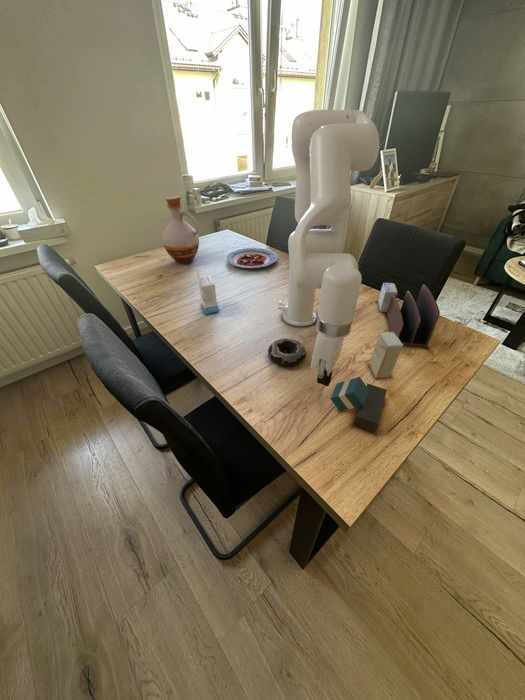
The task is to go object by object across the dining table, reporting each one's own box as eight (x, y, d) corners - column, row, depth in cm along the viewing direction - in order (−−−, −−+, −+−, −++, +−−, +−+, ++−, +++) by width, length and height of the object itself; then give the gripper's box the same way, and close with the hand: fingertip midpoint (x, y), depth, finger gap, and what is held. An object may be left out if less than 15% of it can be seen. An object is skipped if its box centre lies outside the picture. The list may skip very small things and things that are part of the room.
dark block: (353, 426, 70) (356, 415, 68) (364, 393, 78) (367, 383, 76) (374, 434, 68) (378, 424, 66) (383, 399, 77) (387, 389, 74)
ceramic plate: (277, 271, 139) (277, 265, 137) (224, 271, 139) (223, 265, 137) (276, 251, 158) (276, 246, 156) (229, 251, 159) (229, 246, 157)
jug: (210, 255, 155) (202, 193, 135) (196, 269, 141) (186, 202, 122) (176, 252, 158) (164, 191, 139) (160, 265, 145) (144, 200, 126)
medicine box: (391, 313, 109) (398, 292, 104) (379, 312, 110) (385, 291, 105) (389, 302, 115) (395, 283, 110) (377, 301, 116) (383, 282, 111)
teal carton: (328, 406, 75) (333, 385, 70) (334, 391, 79) (340, 370, 74) (359, 418, 72) (366, 397, 67) (364, 401, 76) (372, 380, 71)
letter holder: (413, 315, 108) (427, 281, 99) (426, 348, 93) (443, 311, 84) (385, 313, 110) (396, 278, 101) (394, 344, 95) (407, 307, 86)
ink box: (218, 312, 111) (214, 276, 101) (205, 314, 109) (200, 278, 100) (213, 301, 117) (209, 267, 107) (201, 304, 116) (196, 269, 106)
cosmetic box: (368, 364, 87) (378, 331, 80) (382, 363, 88) (393, 331, 80) (376, 378, 83) (387, 346, 75) (391, 377, 83) (404, 345, 75)
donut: (269, 344, 95) (269, 334, 93) (305, 346, 94) (306, 336, 92) (266, 368, 86) (266, 358, 84) (305, 371, 85) (306, 361, 83)
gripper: (327, 304, 69) (319, 361, 81) (305, 336, 59) (299, 396, 71) (359, 311, 67) (345, 369, 78) (341, 346, 56) (328, 407, 68)
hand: (323, 382), depth 74 cm, fingers closed
